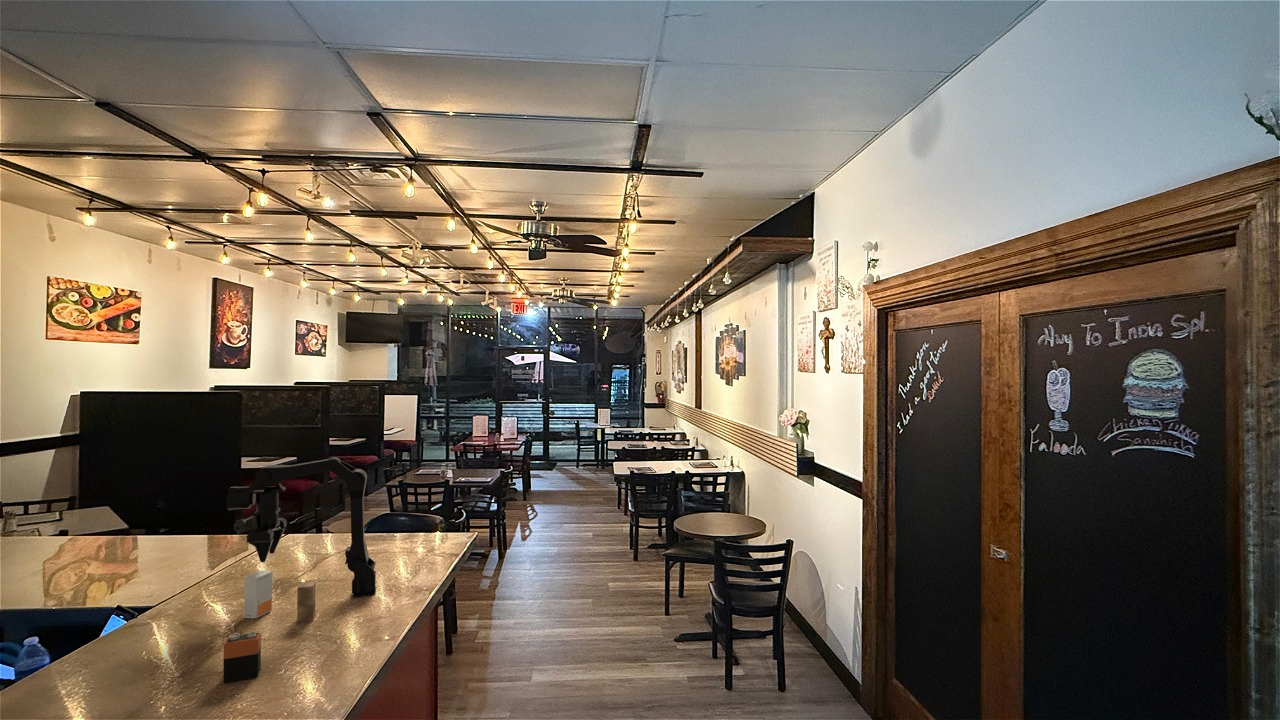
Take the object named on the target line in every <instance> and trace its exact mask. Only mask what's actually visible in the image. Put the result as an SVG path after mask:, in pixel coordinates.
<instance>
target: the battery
mask: <svg viewBox="0 0 1280 720" xmlns="http://www.w3.org/2000/svg"><path fill="white" fill-rule="evenodd" d="M261 655H262V634H261V632H260V631H259V632H256V631H251V632H248V633H246V634H241V633H237V632H235V633H233V634H230V635H229V637H227V639H226V640H225V641H224V643H223V668H222V669H223V672H222V675H223V677H222V679H223V681H222V682H223V683H224V684H229V683H234V682H240V680H241V681H245V680H250V679H251V680H252V679H255V678H258V677H259V674H260V671H261V665H262V662H261V661H262V657H261Z"/></svg>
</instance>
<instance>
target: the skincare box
mask: <svg viewBox="0 0 1280 720" xmlns="http://www.w3.org/2000/svg"><path fill="white" fill-rule="evenodd" d="M273 572H274V571H273V570H272V571H271V570H259V571H256V572H253V573H251V574H249V575H246V576H245V577H244V595H243V597H244V599H243V601H244V602H243V603H244V605H243V618H244V619H253V620H255V619H258V618H259V617H262V616H265V615H267V614H268V612H269V613H271V612H272V611H273V578H274V577H273V574H274V573H273ZM270 611H271V612H270ZM266 613H267V614H266ZM254 618H255V619H254Z"/></svg>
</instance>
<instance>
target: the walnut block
mask: <svg viewBox="0 0 1280 720" xmlns="http://www.w3.org/2000/svg"><path fill="white" fill-rule="evenodd" d="M316 583H317V582H316V581H309V582H300V583H299V584H298V586H297V591H296V592H297V593H296V594H297V595H296V596H297V597H296V599H297V600H296V601H297V602H296V605H297V606H296V607H297V608H296V609H297V610H296V623H297V624H301V623H307V622H308V623H309V622H313V621H314V620H315V618H316V587H317V586H316ZM314 617H315V618H314Z"/></svg>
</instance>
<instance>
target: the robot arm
mask: <svg viewBox="0 0 1280 720" xmlns="http://www.w3.org/2000/svg"><path fill="white" fill-rule="evenodd" d="M327 472H331V473H333V474H334V475H335V476H337V477H338V478H339V479H340V480H342V481H344V483H345V484H346V490H347V494H348V496H349V499H350V537H351V538H350V542H351V543H350V546H347V547H346V549H345V551H344V553H345V562H344V565H347V569H348V570H349V571H351V573H353V574H354V576H353V578H352V580H351V594H352V597H353V598H357V597H365V596H373V595H376V593H377V592H376V591H377V588H378V587H377V571H376V570H375V569H376V561H374V559H372V558H370V555H369V550H368V546H367V544H366V539H365V505H364V503H365V502H364V501H365V499H364V497H365V491H366V486H367V483H368V482H367V481H368V474H367V472H366V471H365V470H364V469H362V468H355V467H354V466H352V465H350V464H348V463H346V462H344V461H342V460H341V459H340V458H339V457H331V458H326V459H321V460H314V461H309V462H302V463H295V464H291V465H290V464H287V465H286V464H269V465H264V466H263V467H261V468H260V469H258V470H257V471H256V472H255V475H254V479H253V481H252V482H251V483H250V484H249V485H248V486H231V487H229V488H228V493H227V497H226V501H225V504H226V505H225V506H226V509H227V510H228V511H232V510H233V511H234V510H243V509H247V510H248V509H251V507H252V506H254V505H256V511H255V512H253V514H252V516H250V517H247V518H245V519H244V518H241V519H239V520H236V521H235V524H233V531H235V532H236V533H237V535H240V534H242V533H244V532H246V531H248V530H251V529H252V530H251V531H250V532H249V533H248V534H247V535H246V538H245V539H246V543H248V545H251V546H253V547H255V550H256V554H258V555H257V556H258V558H259V559H258V560H259V561H260V563H265V562H266V560H267V558H268V556H269V555H268V554H272V555H273V554H274V553H275V551H276V550H277V547H278V546H279V542H280V541H281V538H282V536H283V534H284V531H285V530H286V527H287V526H288V525H287V524H288V522H287V519H285V518H284V517H279V512H281V507H279V493H282V492H285V491H286V490H287V487H286V486H283V485H282V484H281V482H283V481H286V480H289V479H293V478H299V477H304V476H311V475H316V474H320V473H327ZM275 484H276V485H275ZM261 487H264V489H260V488H261Z"/></svg>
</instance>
